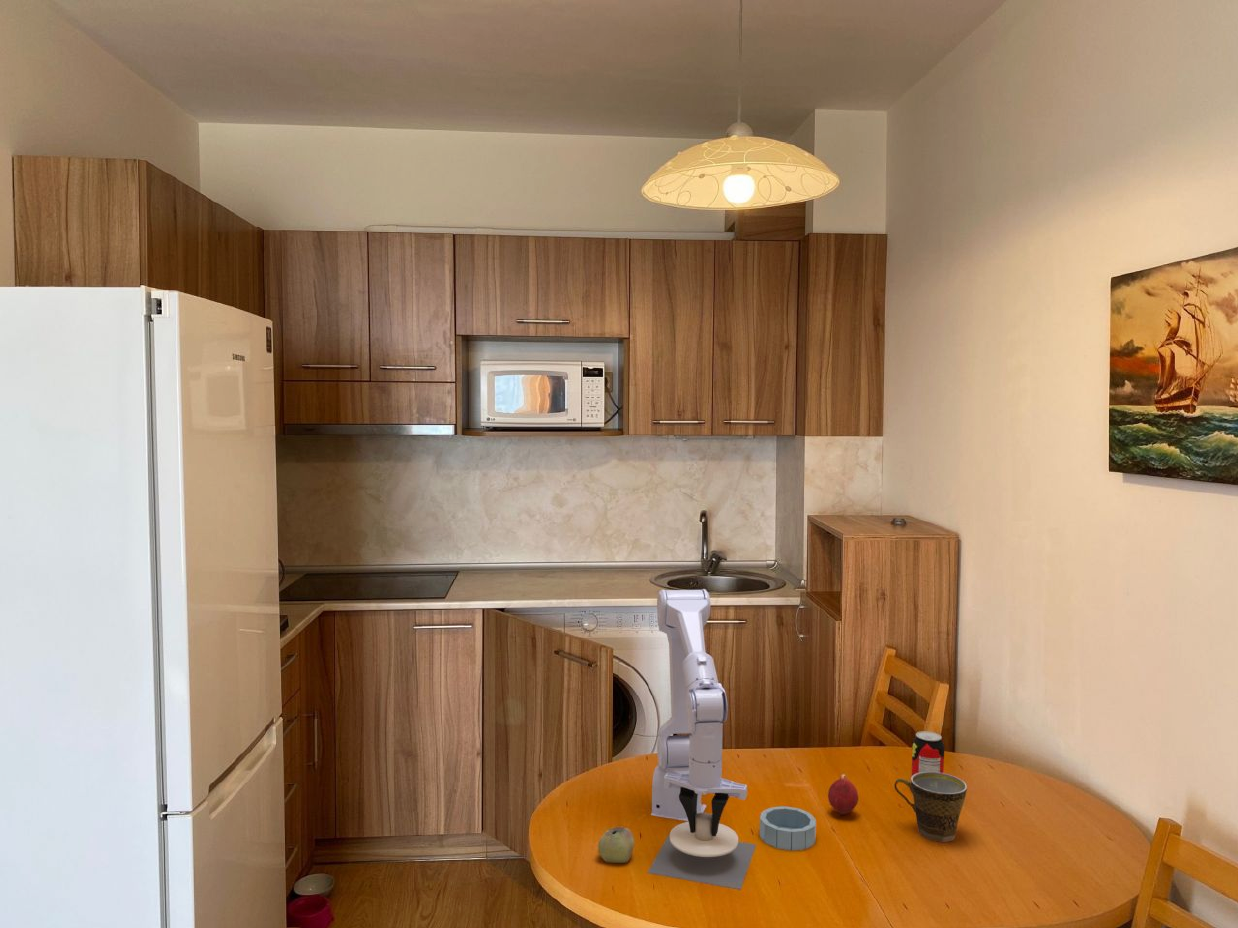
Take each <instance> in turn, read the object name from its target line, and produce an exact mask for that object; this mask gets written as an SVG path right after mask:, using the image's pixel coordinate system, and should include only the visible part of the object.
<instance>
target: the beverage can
mask: <svg viewBox="0 0 1238 928" xmlns="http://www.w3.org/2000/svg"><path fill="white" fill-rule="evenodd" d="M911 748H912V749H911V752H912V753H911V754H912V755H911V773H910V774H911V775H910V776H911V777H912V776H913V775H914V774H917V773H920V772H939V773H945V769H944V767H945V765H944V763H945V744H944V742H943V740H942V735H940V734H939V733H937V732H933V731H926V730H925V731H918V732H916V733H915V737H914V739H913V741H912V747H911ZM911 777H910V778H911Z"/></svg>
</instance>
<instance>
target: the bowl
mask: <svg viewBox="0 0 1238 928" xmlns="http://www.w3.org/2000/svg"><path fill="white" fill-rule="evenodd" d="M816 834H817V819H816V818H815V817H814V816H813V814H812V813H810V812H808V811H807V810H803V809H801V808H798V807H790V806H785V805H784V806H771V807H769V808H766V809H764V810H763V811H762V812H761V814H760V817H759V837H760V838H761V840H762V841H763V842H764V843H765V844H767V845H769V846H771V847H773V848H775V849H779V850H786V851H792V852H793V851H801V850H803V851H804V850H807V849H808V848H811V847H812V846H814V845H815V843H816V837H817V835H816Z"/></svg>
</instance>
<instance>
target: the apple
mask: <svg viewBox="0 0 1238 928" xmlns="http://www.w3.org/2000/svg"><path fill="white" fill-rule="evenodd" d="M634 846H635V838H634V835H633V833H632V831H631V830H630V829H629V828H628V827H625V826H615V827H612V828H609V829H606V831H604V833H603V834H602V835H601V837H600V838H599V840H598V845H597V848H598V849H597V850H598V853H599V855H600V857H601V858H602V859H603V861H604V862H605V863H609V864H612V863H613V864H627V863H629V861H630V859H631V857H632V855H633V850H634Z"/></svg>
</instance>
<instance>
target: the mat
mask: <svg viewBox="0 0 1238 928" xmlns="http://www.w3.org/2000/svg"><path fill="white" fill-rule="evenodd" d="M756 846H757V844H756V843H750V842H749V843H747V842H743V841H738V846H737V848H736V849H735V850H734V851H732V852H730V853H728V854H726V855H722V856H717V857H699V856H693V855H689V854H686V853H683V852H681V851H679V850H678V849H676V848H675V847H674V846H673V845H672V844H671V842H670V832H669V833H668V835H667V837H666V839H665V840H664V843H663V844H662V846H661V848H660V850H659V851H658V853H657V855H656V856H655V858H654V860H653V862H652V864H651V865H650V867H649V869H648V870H647V874H651V875H657V876H662V877H668V878H674V879H679V880H685V881H690V882H696V883H700V884H701V883H703V884H707V885H713V886H718V887H724V888H729V889H734V890H741V889H742V886H743V884H744V881H745V877H746V876H747V872H748V869H749V867H750V864H751V862H752V858H753V855H754V853H755V849H756Z"/></svg>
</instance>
